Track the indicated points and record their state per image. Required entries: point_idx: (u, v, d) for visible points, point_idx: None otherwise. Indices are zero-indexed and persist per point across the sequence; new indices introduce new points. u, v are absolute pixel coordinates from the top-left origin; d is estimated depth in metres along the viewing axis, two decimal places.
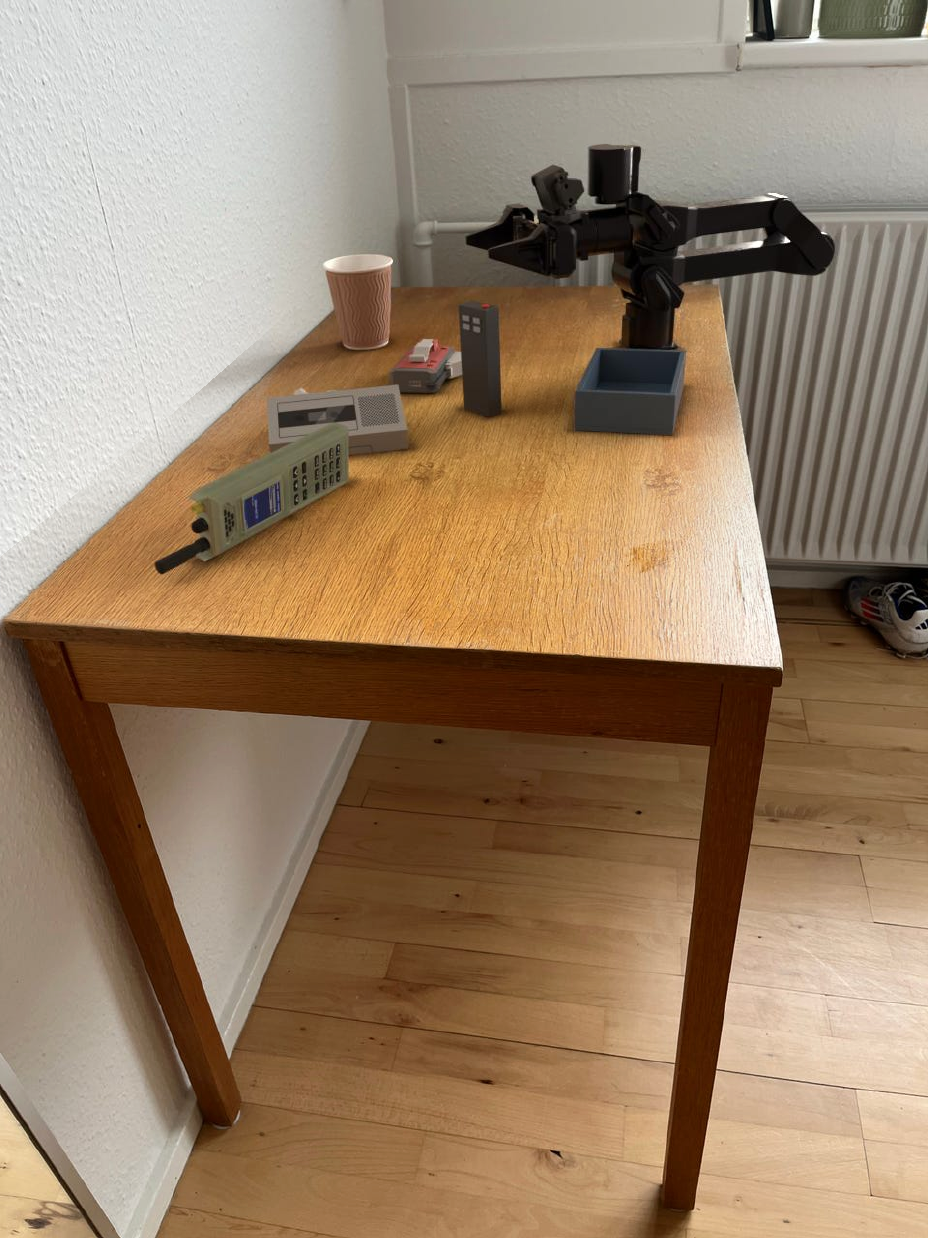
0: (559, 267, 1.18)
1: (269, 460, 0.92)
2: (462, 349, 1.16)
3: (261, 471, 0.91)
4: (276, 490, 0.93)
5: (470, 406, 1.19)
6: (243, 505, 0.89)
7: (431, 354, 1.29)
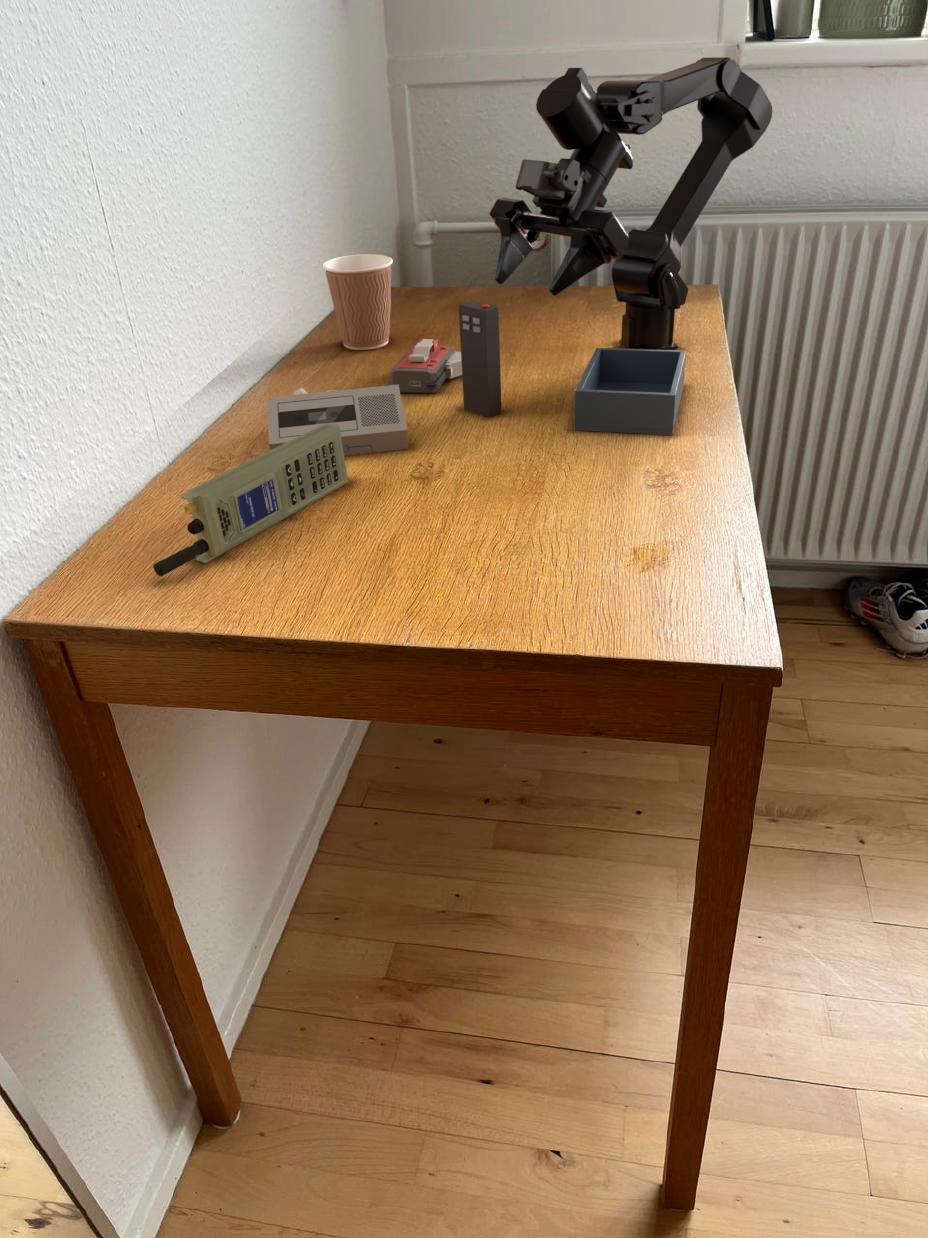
0: (619, 250, 1.12)
1: (260, 459, 0.93)
2: (462, 349, 1.16)
3: (252, 468, 0.91)
4: (270, 488, 0.93)
5: (470, 406, 1.19)
6: (237, 502, 0.90)
7: (431, 354, 1.29)
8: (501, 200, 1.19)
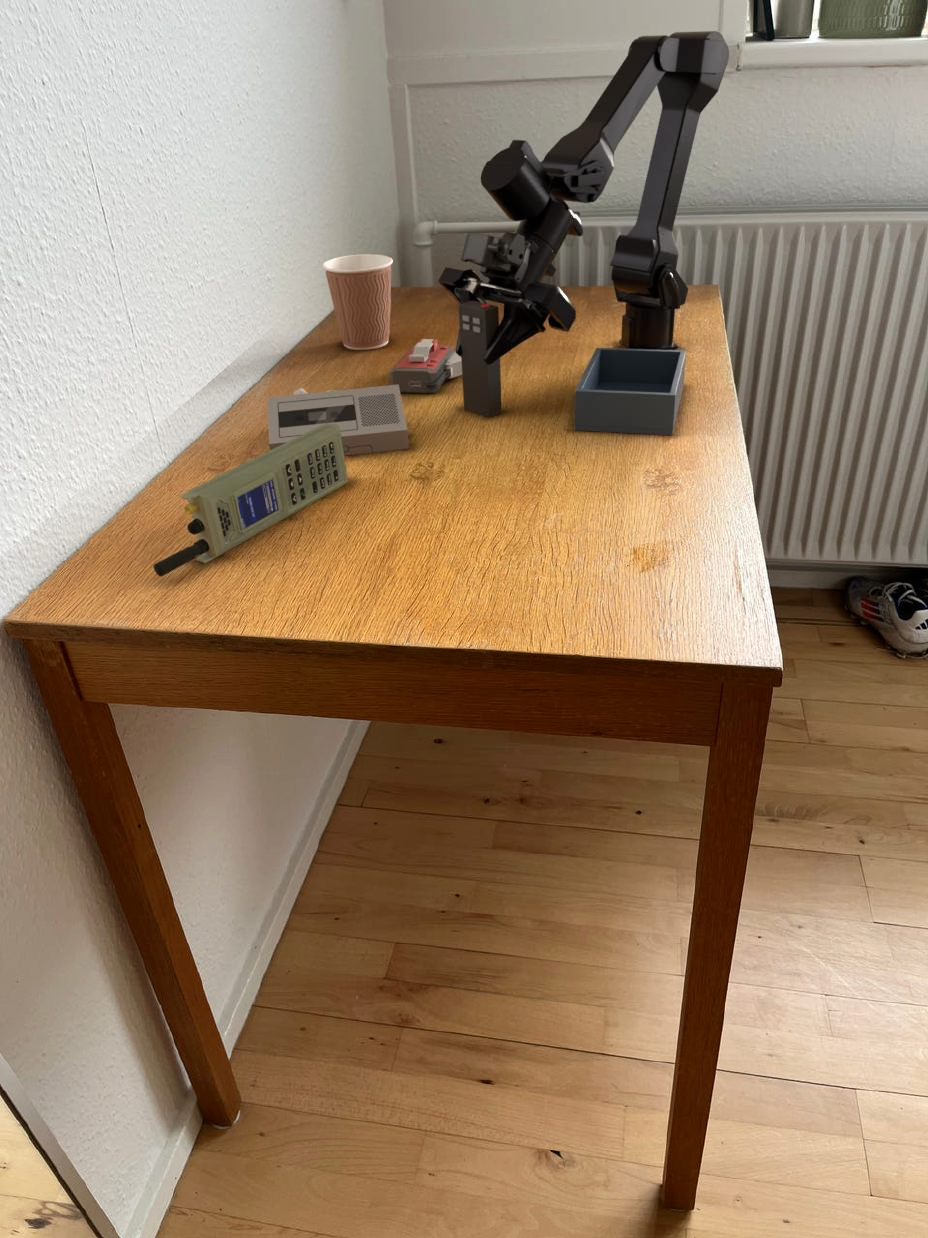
0: (566, 324, 1.10)
1: (260, 459, 0.93)
2: (462, 349, 1.16)
3: (253, 468, 0.91)
4: (270, 488, 0.93)
5: (470, 406, 1.19)
6: (237, 502, 0.90)
7: (431, 354, 1.29)
8: (449, 268, 1.18)
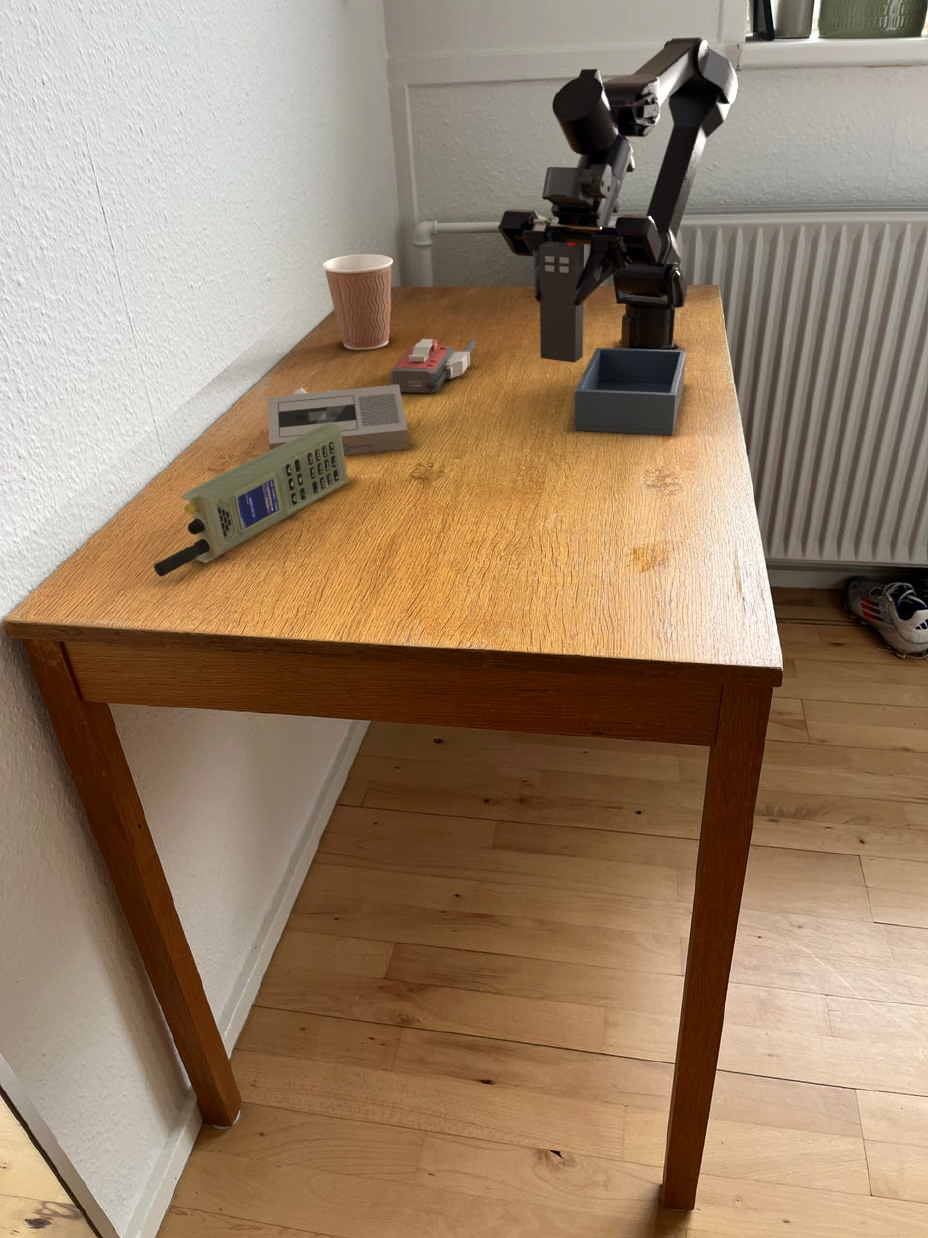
0: (655, 256, 1.08)
1: (260, 459, 0.93)
2: (542, 293, 1.11)
3: (253, 468, 0.91)
4: (270, 488, 0.93)
5: (549, 354, 1.14)
6: (237, 502, 0.90)
7: (431, 354, 1.29)
8: (510, 212, 1.12)
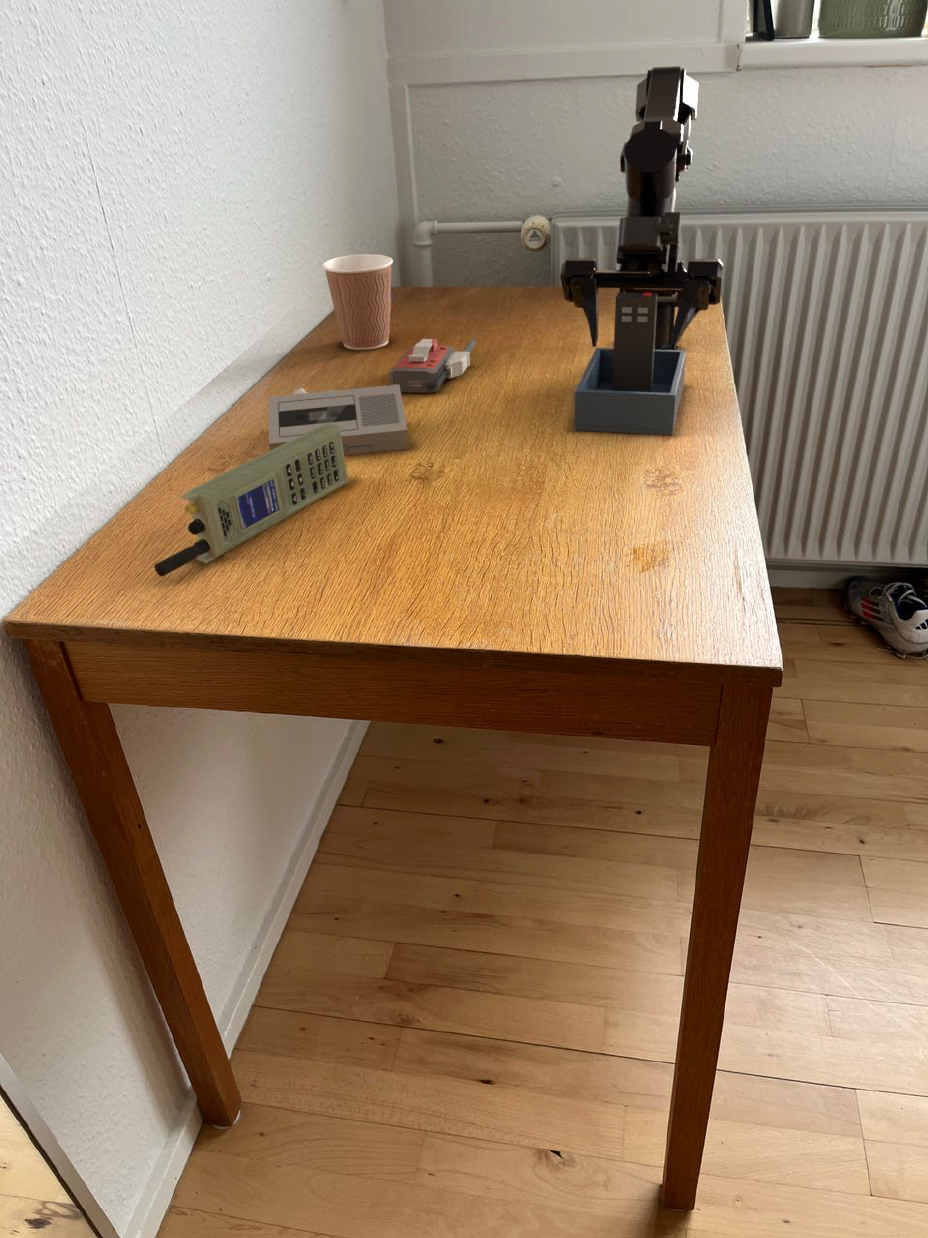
0: (720, 296, 1.13)
1: (261, 459, 0.93)
2: (616, 343, 1.13)
3: (253, 468, 0.91)
4: (271, 488, 0.93)
5: None
6: (237, 502, 0.90)
7: (431, 354, 1.29)
8: (572, 261, 1.13)
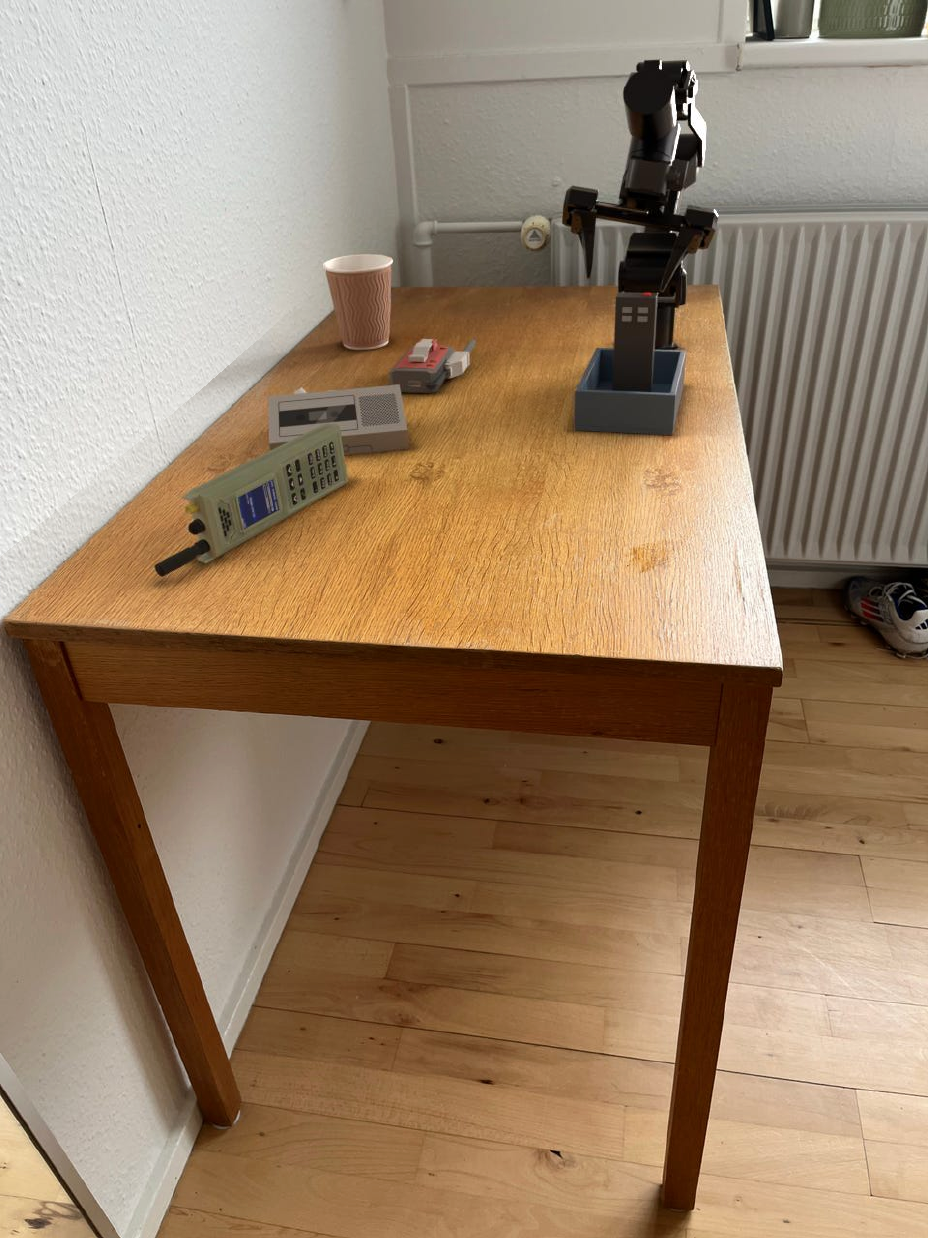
0: (709, 243, 1.19)
1: (261, 459, 0.93)
2: (616, 343, 1.13)
3: (253, 468, 0.91)
4: (271, 488, 0.93)
5: None
6: (238, 502, 0.90)
7: (431, 354, 1.29)
8: (577, 190, 1.16)
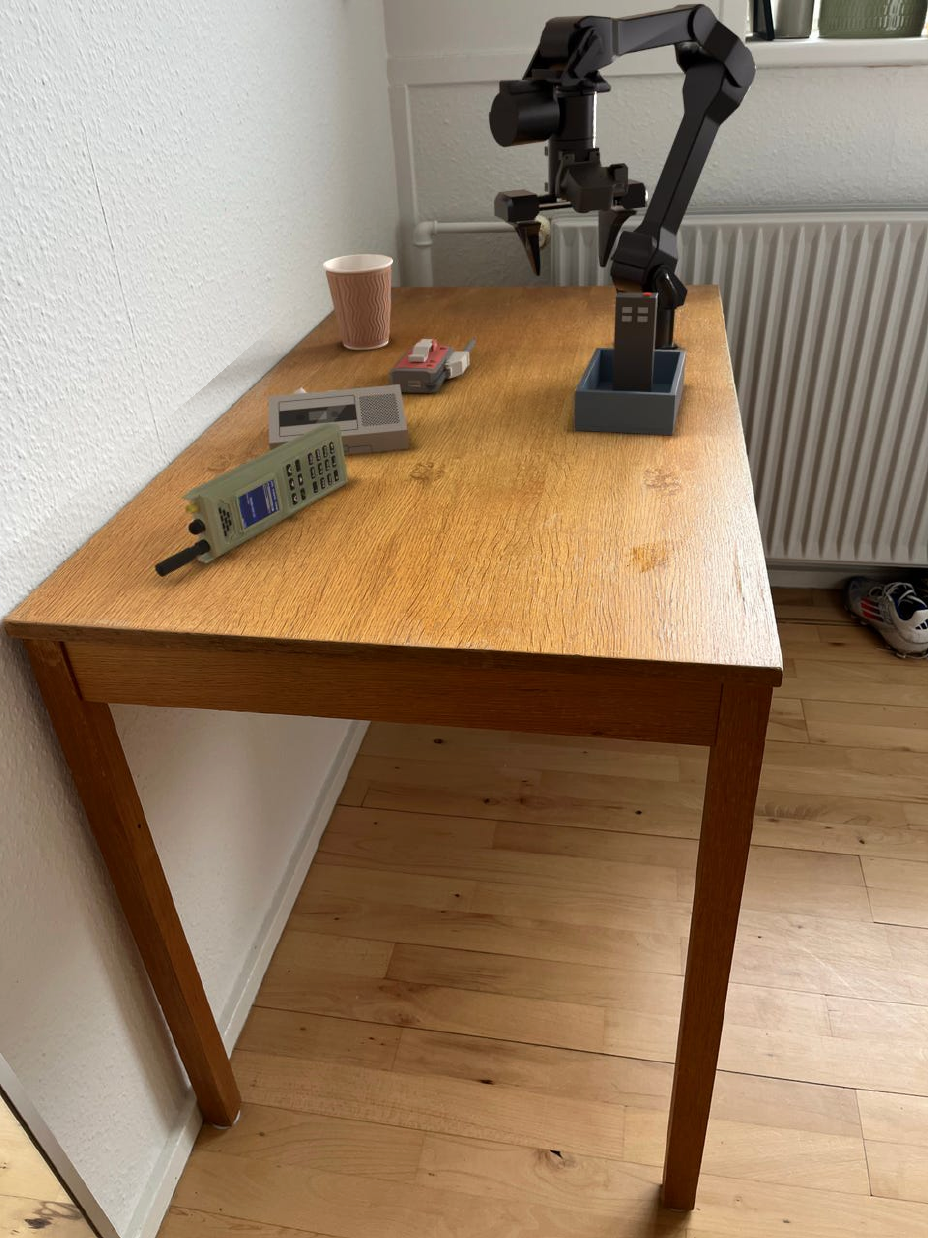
0: None
1: (261, 459, 0.93)
2: (616, 343, 1.13)
3: (253, 468, 0.91)
4: (271, 488, 0.93)
5: None
6: (238, 502, 0.90)
7: (430, 354, 1.29)
8: (519, 205, 1.15)
